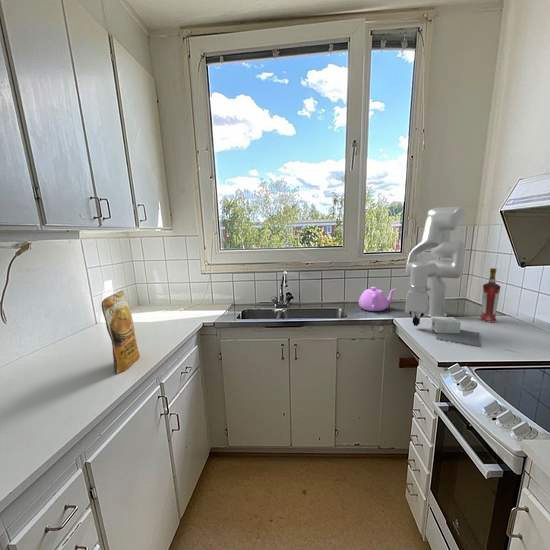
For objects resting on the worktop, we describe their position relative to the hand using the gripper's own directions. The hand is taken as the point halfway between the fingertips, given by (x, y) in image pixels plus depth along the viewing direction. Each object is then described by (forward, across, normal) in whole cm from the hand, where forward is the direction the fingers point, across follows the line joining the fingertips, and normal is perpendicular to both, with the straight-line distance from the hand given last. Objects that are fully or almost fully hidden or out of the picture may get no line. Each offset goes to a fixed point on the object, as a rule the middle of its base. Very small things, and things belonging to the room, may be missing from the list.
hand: (415, 325), depth 142 cm
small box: (-1, -7, -1) cm, 7 cm away
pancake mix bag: (+2, +87, +100) cm, 132 cm away
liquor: (+2, -30, -33) cm, 45 cm away
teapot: (+2, +26, -26) cm, 37 cm away
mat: (+2, -18, +1) cm, 18 cm away
